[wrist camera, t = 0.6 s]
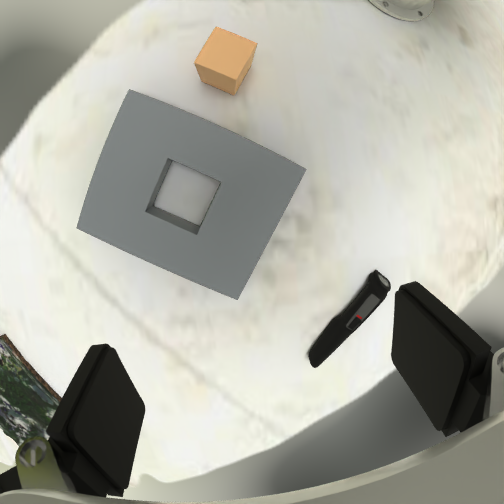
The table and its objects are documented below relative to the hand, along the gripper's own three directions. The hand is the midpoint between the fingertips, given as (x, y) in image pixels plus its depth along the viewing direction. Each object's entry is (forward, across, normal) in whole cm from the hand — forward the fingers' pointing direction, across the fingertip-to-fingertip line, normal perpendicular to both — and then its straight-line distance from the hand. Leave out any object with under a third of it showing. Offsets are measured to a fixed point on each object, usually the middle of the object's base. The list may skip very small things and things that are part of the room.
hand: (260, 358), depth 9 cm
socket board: (+27, +5, -2) cm, 27 cm away
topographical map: (+27, +56, +26) cm, 67 cm away
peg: (+27, -2, -15) cm, 31 cm away
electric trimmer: (+27, -12, +18) cm, 35 cm away
